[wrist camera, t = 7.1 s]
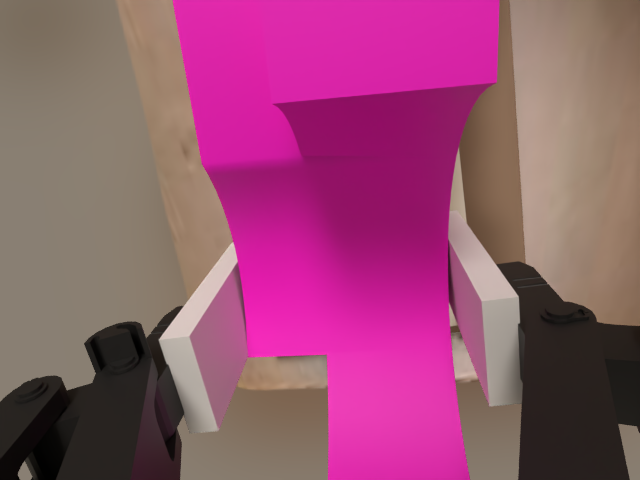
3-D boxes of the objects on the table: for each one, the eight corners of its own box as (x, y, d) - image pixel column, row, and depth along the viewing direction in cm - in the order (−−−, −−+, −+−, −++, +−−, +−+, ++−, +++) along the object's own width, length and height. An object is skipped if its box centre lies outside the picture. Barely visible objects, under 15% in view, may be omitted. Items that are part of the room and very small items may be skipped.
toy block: (225, 7, 14) (96, -57, 7) (429, -18, 14) (503, -114, 7) (283, 404, 19) (238, 593, 12) (435, 400, 19) (481, 599, 12)
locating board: (501, -32, 28) (514, -41, 25) (523, 314, 36) (536, 333, 33) (192, 42, 31) (176, 40, 28) (275, 346, 39) (269, 366, 36)
